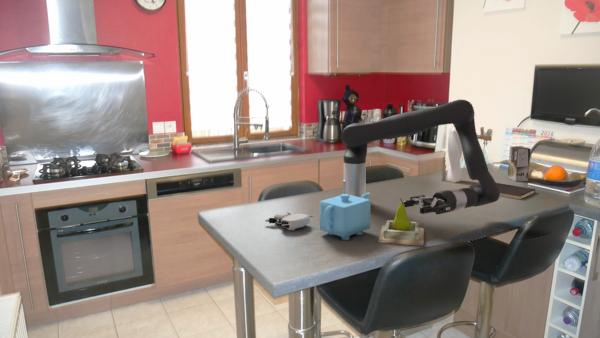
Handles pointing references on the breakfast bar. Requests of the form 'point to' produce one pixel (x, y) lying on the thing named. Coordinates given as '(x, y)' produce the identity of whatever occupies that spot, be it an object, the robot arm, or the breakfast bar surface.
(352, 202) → the teapot
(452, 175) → the skyscraper
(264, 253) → the breakfast bar surface
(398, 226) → the fruit
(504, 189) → the book
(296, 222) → the robot toy
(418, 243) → the tray
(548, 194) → the breakfast bar surface
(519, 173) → the coffee box
